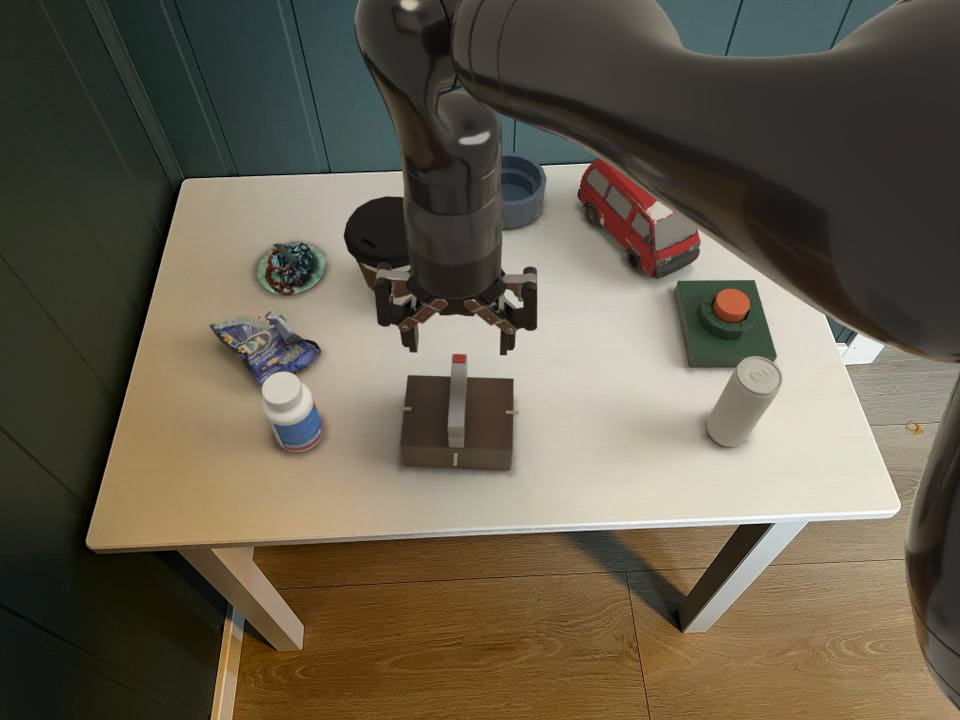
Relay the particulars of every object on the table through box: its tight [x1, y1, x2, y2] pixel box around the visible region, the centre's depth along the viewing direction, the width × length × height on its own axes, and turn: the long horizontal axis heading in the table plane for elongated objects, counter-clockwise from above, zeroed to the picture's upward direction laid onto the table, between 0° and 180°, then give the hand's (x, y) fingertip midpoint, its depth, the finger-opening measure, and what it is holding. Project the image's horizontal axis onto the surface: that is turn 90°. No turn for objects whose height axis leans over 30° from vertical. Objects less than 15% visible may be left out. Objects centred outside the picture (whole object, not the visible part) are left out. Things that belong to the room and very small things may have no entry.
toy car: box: [576, 157, 701, 280], centre depth 97 cm, size 9×18×10 cm, turn 26°
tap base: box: [397, 374, 520, 471], centre depth 82 cm, size 13×13×5 cm
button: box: [713, 289, 750, 323], centre depth 89 cm, size 4×4×2 cm
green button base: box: [674, 279, 778, 368], centre depth 91 cm, size 12×10×4 cm
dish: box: [257, 241, 326, 296], centre depth 97 cm, size 8×7×8 cm
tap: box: [448, 353, 469, 448], centre depth 78 cm, size 9×2×5 cm, turn 178°
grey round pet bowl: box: [501, 151, 548, 229], centre depth 103 cm, size 10×10×5 cm
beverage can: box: [706, 356, 784, 448], centre depth 79 cm, size 5×5×12 cm
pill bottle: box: [261, 372, 324, 453], centre depth 80 cm, size 6×5×10 cm
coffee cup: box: [343, 195, 412, 305], centre depth 91 cm, size 11×11×12 cm
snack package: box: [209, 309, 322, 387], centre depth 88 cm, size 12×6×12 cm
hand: (459, 346), depth 70 cm, fingers open, 8 cm apart
